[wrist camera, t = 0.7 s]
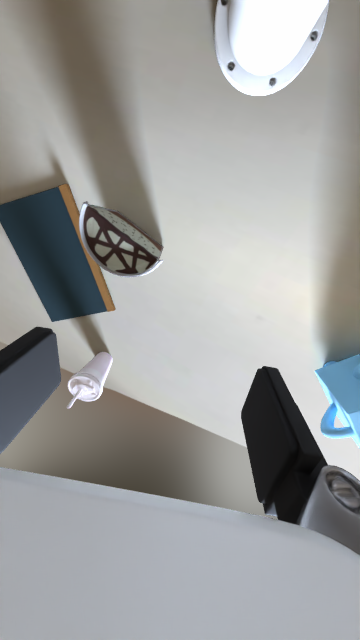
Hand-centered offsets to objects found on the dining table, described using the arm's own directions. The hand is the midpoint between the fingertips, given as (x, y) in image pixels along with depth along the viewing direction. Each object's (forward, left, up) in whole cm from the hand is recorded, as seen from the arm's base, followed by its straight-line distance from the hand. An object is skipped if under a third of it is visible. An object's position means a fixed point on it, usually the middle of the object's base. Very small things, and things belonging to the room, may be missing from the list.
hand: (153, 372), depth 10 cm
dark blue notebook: (-4, -24, -31) cm, 40 cm away
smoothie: (+18, -23, -31) cm, 43 cm away
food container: (-4, -9, -31) cm, 33 cm away
